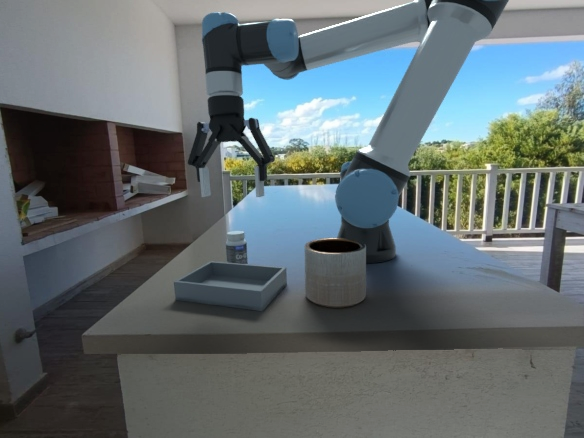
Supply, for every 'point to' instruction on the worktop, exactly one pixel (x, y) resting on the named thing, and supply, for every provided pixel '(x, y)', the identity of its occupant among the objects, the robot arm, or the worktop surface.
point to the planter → (335, 272)
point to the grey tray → (232, 285)
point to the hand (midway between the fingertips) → (232, 196)
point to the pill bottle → (236, 247)
